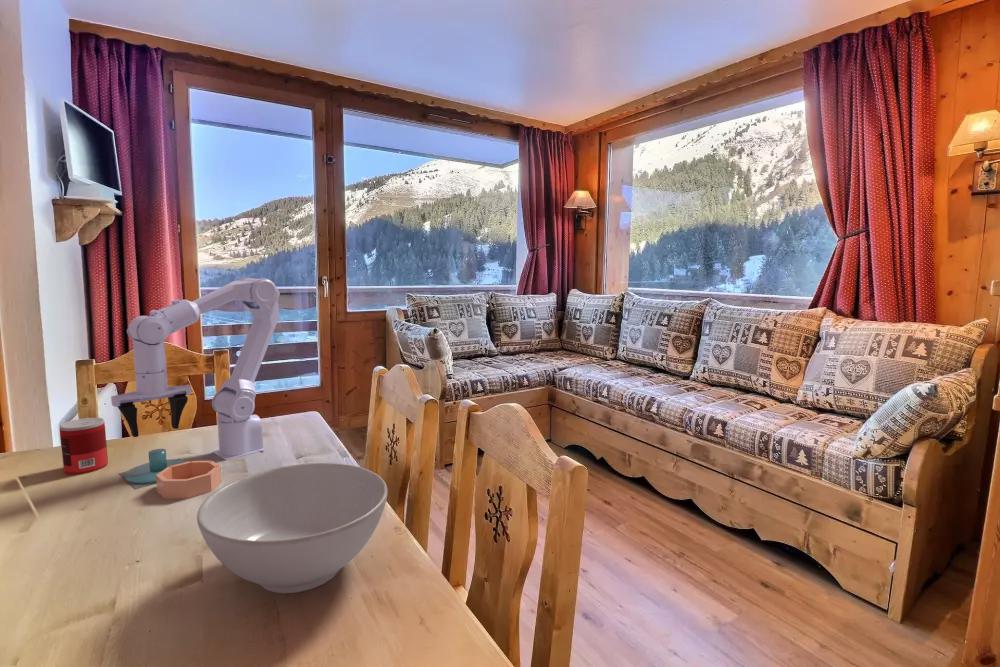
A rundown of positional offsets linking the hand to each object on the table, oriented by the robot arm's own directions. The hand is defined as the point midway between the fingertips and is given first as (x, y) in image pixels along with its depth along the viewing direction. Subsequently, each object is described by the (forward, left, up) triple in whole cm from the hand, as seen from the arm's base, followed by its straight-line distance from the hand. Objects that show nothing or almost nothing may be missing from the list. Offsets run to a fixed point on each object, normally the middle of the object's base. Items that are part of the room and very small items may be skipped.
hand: (155, 431), depth 115 cm
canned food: (+10, -15, -10) cm, 21 cm away
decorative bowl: (-3, +57, -10) cm, 58 cm away
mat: (0, 0, -10) cm, 10 cm away
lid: (0, 0, -10) cm, 10 cm away
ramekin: (-2, +13, -10) cm, 16 cm away
